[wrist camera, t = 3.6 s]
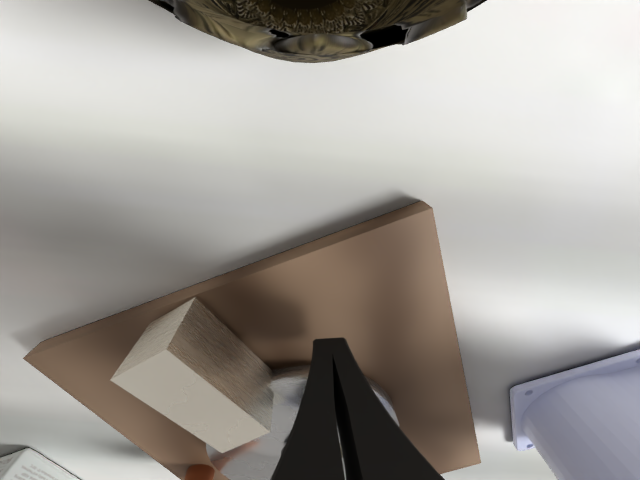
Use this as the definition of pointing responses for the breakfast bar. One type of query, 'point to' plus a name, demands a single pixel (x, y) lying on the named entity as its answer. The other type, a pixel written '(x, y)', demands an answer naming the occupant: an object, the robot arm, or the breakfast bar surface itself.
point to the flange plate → (219, 390)
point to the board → (303, 337)
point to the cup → (318, 24)
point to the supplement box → (31, 467)
